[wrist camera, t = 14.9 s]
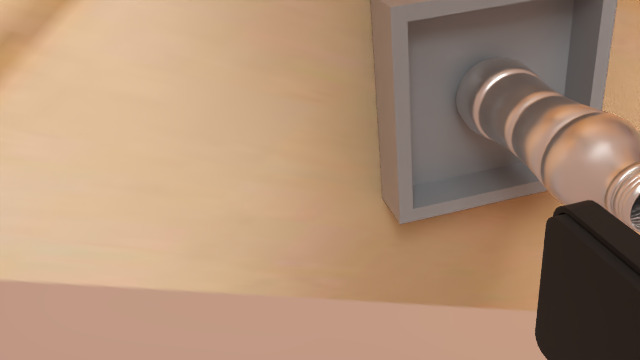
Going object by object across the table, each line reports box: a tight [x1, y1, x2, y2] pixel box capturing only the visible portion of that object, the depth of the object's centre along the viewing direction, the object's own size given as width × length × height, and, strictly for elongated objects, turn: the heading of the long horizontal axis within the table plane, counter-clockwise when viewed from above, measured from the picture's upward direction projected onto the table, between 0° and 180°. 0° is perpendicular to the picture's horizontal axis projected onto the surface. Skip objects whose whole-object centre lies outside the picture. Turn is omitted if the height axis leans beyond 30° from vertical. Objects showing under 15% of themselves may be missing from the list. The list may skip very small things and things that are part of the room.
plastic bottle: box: [456, 57, 640, 232], centre depth 41 cm, size 6×7×20 cm
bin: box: [370, 0, 617, 224], centre depth 48 cm, size 18×18×4 cm
